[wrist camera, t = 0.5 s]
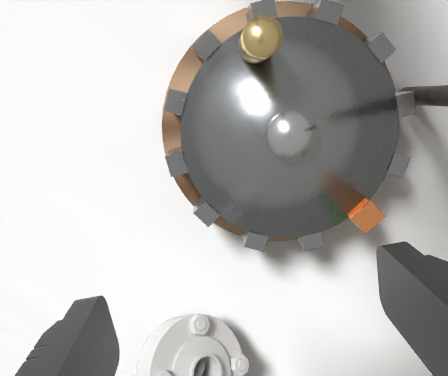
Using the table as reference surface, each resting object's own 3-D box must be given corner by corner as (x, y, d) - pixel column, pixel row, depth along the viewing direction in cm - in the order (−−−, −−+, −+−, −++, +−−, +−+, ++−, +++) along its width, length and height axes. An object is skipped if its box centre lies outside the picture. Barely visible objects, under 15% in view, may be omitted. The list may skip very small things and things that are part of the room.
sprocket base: (149, 13, 33) (121, -25, 23) (425, -7, 34) (524, -54, 23) (176, 245, 39) (163, 302, 28) (414, 225, 39) (490, 274, 28)
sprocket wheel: (155, 17, 32) (135, -12, 23) (396, -1, 32) (465, -36, 24) (180, 244, 37) (171, 290, 28) (389, 227, 37) (444, 267, 29)
